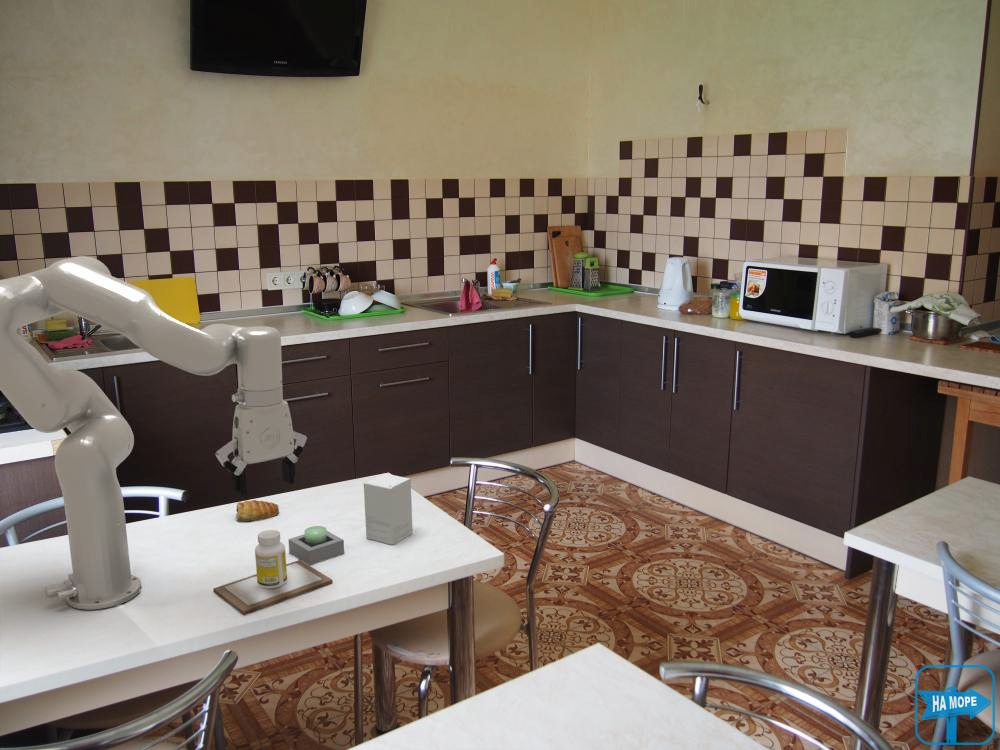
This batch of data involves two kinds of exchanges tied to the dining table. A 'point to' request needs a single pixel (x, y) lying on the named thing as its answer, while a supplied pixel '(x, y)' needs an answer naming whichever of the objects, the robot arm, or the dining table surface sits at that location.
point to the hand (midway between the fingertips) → (264, 487)
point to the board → (253, 597)
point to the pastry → (256, 510)
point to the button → (315, 534)
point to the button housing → (316, 548)
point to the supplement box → (388, 508)
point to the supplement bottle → (270, 560)
